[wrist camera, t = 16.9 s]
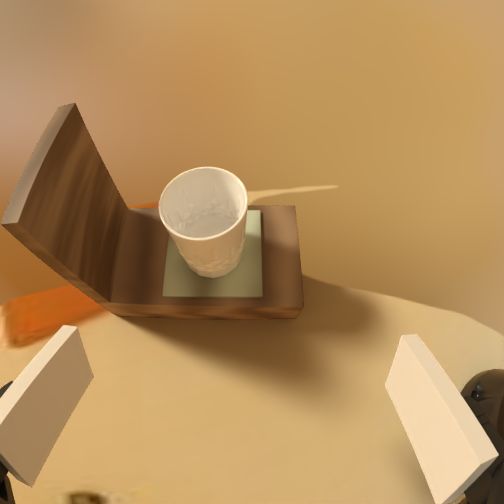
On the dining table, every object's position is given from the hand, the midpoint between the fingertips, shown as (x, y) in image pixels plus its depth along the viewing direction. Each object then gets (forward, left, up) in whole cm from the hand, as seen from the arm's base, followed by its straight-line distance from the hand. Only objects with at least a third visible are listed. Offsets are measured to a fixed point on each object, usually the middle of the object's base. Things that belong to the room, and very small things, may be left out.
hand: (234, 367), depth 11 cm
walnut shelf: (+5, -15, -26) cm, 30 cm away
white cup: (+3, -15, -20) cm, 25 cm away
